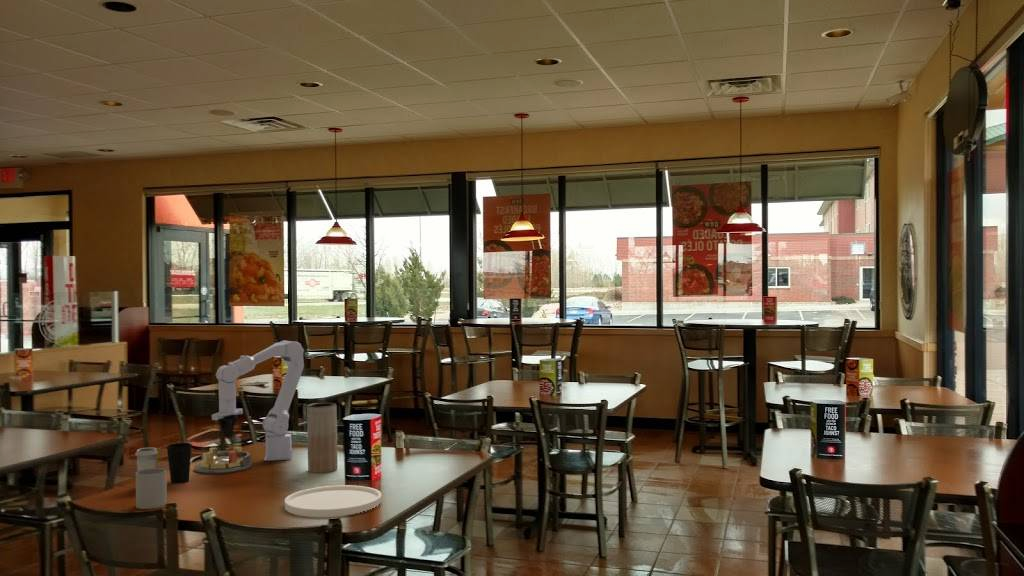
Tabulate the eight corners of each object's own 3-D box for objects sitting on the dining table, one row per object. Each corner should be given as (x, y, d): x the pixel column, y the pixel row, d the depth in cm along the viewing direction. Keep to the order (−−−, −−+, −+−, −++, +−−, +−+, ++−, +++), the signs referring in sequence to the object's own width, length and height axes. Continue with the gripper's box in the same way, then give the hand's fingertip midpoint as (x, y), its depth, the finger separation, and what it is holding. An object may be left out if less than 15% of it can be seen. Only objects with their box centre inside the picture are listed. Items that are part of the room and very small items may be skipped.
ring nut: (206, 460, 304) (206, 446, 304) (248, 459, 305) (248, 445, 305) (196, 469, 289) (196, 454, 289) (239, 468, 291) (239, 453, 291)
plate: (292, 523, 228) (292, 514, 228) (278, 499, 254) (278, 491, 254) (393, 511, 239) (392, 502, 239) (369, 489, 265) (369, 481, 265)
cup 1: (131, 486, 271) (130, 449, 271) (151, 482, 276) (150, 446, 276) (143, 490, 266) (142, 452, 266) (162, 485, 272) (162, 448, 272)
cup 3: (186, 484, 274) (185, 447, 274) (163, 484, 274) (162, 447, 274) (195, 478, 281) (195, 442, 281) (173, 478, 282) (172, 442, 282)
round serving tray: (254, 460, 308) (254, 449, 308) (247, 472, 290) (247, 460, 290) (199, 463, 305) (199, 452, 305) (189, 475, 286) (189, 463, 286)
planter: (309, 474, 286) (308, 407, 285) (306, 468, 295) (305, 403, 295) (339, 471, 289) (338, 405, 289) (335, 465, 298) (334, 402, 298)
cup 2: (173, 502, 250) (172, 469, 250) (152, 509, 243) (152, 475, 243) (150, 500, 253) (149, 467, 253) (129, 507, 245) (129, 473, 245)
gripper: (223, 402, 292) (224, 441, 292) (249, 396, 306) (250, 433, 306) (206, 401, 295) (207, 440, 295) (233, 396, 308) (234, 433, 308)
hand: (228, 437), depth 301 cm, fingers closed
